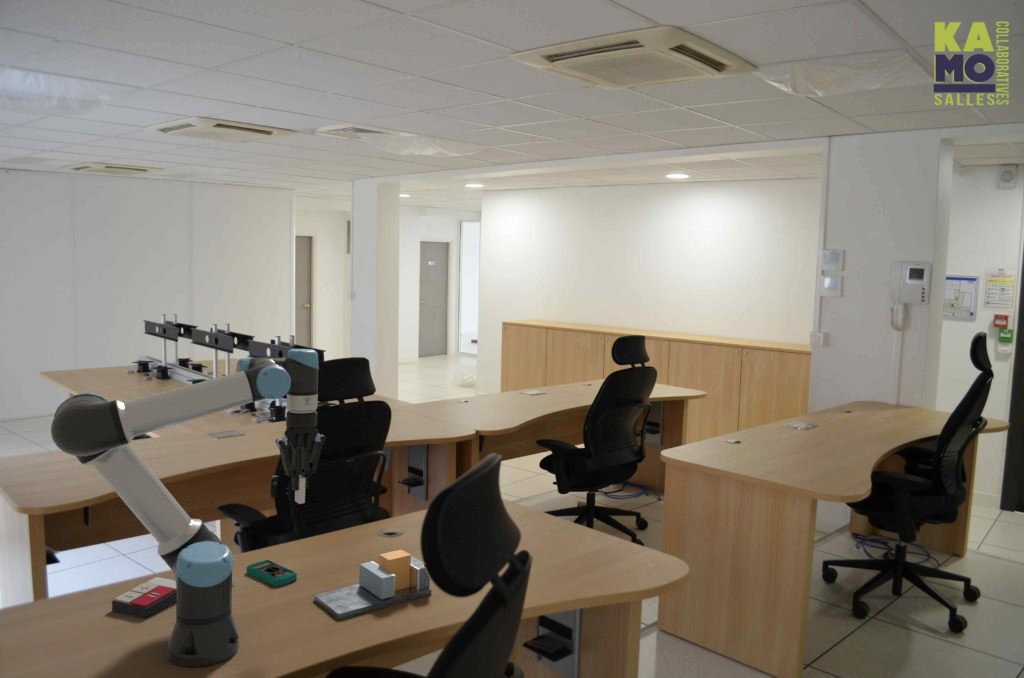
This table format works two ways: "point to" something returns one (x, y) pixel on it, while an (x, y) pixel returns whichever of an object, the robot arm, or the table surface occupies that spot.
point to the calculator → (147, 598)
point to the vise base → (362, 600)
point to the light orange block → (397, 567)
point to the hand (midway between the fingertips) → (299, 501)
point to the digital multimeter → (271, 573)
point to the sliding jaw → (377, 580)
